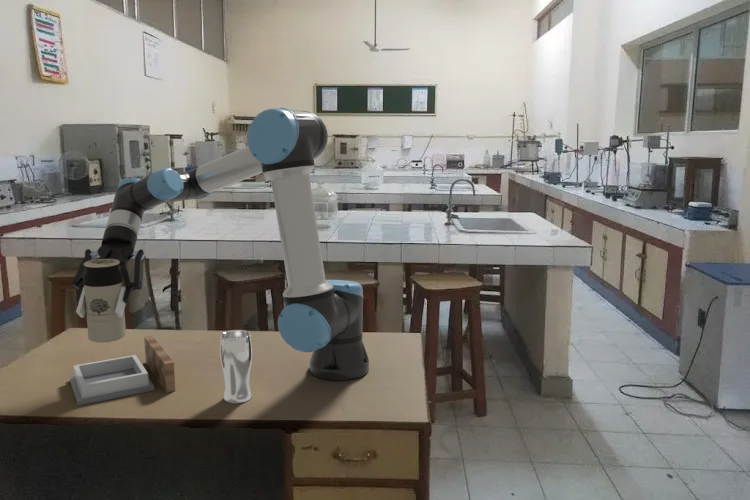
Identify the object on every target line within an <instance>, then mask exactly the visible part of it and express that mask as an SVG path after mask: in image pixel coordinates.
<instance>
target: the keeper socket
mask: <svg viewBox="0 0 750 500" xmlns="http://www.w3.org/2000/svg"><path fill="white" fill-rule="evenodd" d="M73 374H74V375H72V376H69V382H70V385H71V388H72V391H73V394H74V398H75V401H76V405H77V406H78V407H79V406H84V405H90V404H93V403H98V402H103V401H108V400H113V399H118V398H123V397H129V396H133V395H136V394H137V395H138V394H141V393H142V394H143V393H146V392H147V393H149V392H151V391H155V384H153V382H152V381H151V378H150V377H149V372H148V371H147V370H146V368H145V367H144V365H143V363H142V362H141V361H140V359H139V358H138V356H137V354H132V355H128V356H121V357H116V358H108V359H104V360H99V361H93V362H86V363H81V364H75V365H73Z"/></svg>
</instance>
